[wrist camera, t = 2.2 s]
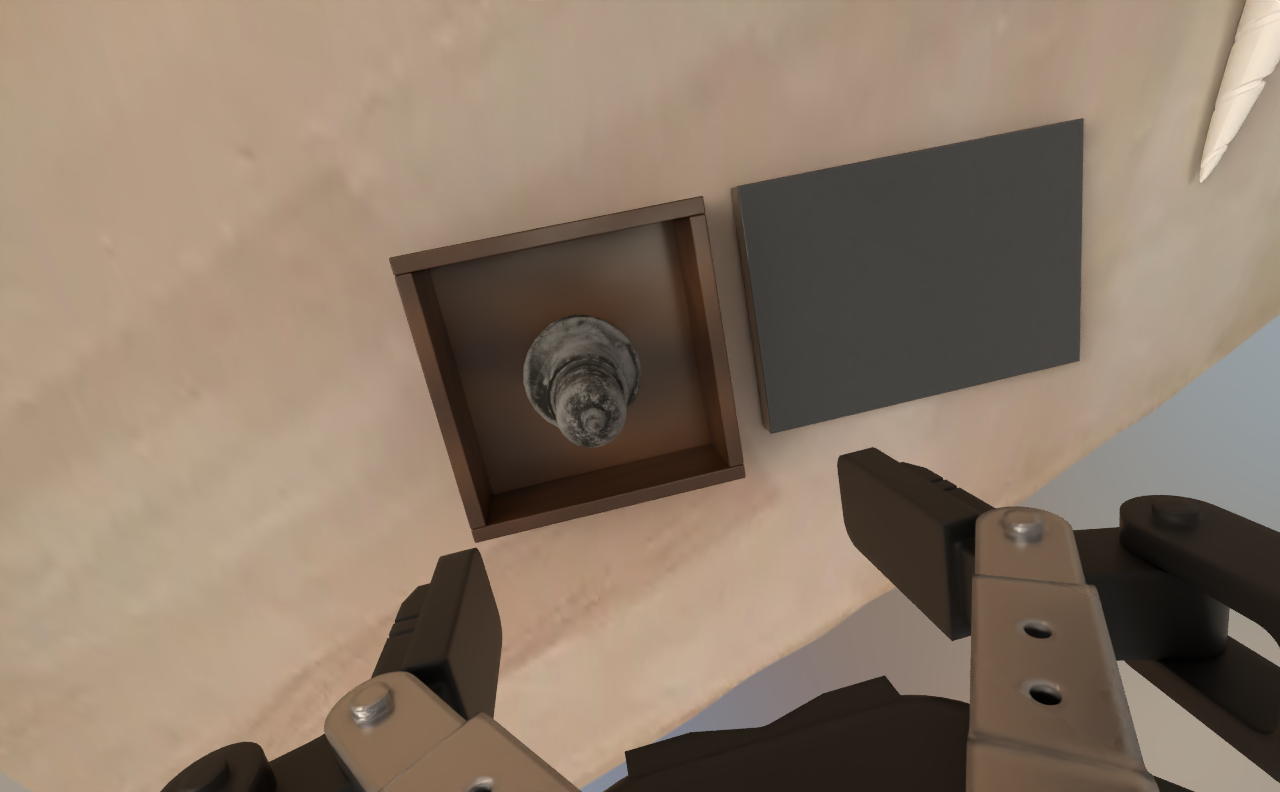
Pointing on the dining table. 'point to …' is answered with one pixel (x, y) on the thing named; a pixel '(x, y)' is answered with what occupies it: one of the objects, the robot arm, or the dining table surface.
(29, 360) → the dining table surface
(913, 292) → the slate board
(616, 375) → the stone chess piece
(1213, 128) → the unicorn horn
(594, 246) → the wooden box
